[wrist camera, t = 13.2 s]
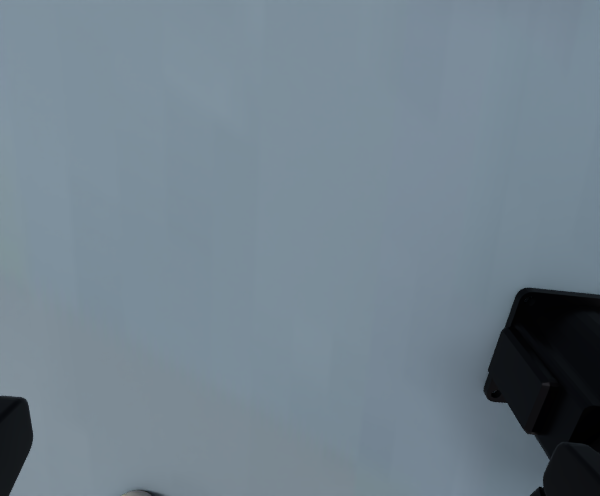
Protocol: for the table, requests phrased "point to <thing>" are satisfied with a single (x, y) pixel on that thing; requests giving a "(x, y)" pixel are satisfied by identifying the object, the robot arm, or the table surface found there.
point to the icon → (136, 493)
